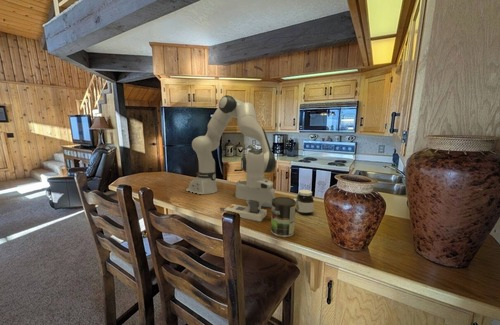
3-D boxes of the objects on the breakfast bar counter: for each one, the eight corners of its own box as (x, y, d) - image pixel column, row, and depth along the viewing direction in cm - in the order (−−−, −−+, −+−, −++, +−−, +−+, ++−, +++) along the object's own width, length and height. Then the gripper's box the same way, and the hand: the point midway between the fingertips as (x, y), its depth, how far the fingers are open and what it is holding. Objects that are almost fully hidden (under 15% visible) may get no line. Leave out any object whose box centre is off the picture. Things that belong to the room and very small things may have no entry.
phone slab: (252, 206, 124) (252, 205, 124) (256, 203, 131) (256, 201, 130) (276, 210, 120) (276, 208, 120) (279, 205, 126) (279, 204, 126)
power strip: (216, 213, 112) (215, 206, 112) (224, 207, 121) (224, 201, 120) (260, 222, 103) (260, 215, 102) (266, 215, 111) (266, 208, 110)
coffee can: (278, 239, 87) (279, 206, 85) (266, 228, 97) (267, 198, 94) (299, 234, 91) (301, 203, 89) (286, 224, 101) (287, 195, 98)
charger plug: (249, 214, 108) (250, 199, 106) (252, 212, 111) (252, 197, 110) (256, 216, 106) (256, 200, 105) (258, 213, 109) (259, 198, 108)
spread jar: (315, 215, 111) (316, 194, 110) (294, 216, 110) (295, 194, 108) (305, 207, 123) (306, 187, 121) (286, 208, 121) (287, 188, 119)
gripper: (233, 181, 107) (233, 207, 109) (272, 186, 99) (271, 214, 101) (239, 178, 113) (238, 203, 115) (276, 183, 105) (275, 209, 107)
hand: (254, 208), depth 108 cm, fingers closed on charger plug, 3 cm apart
